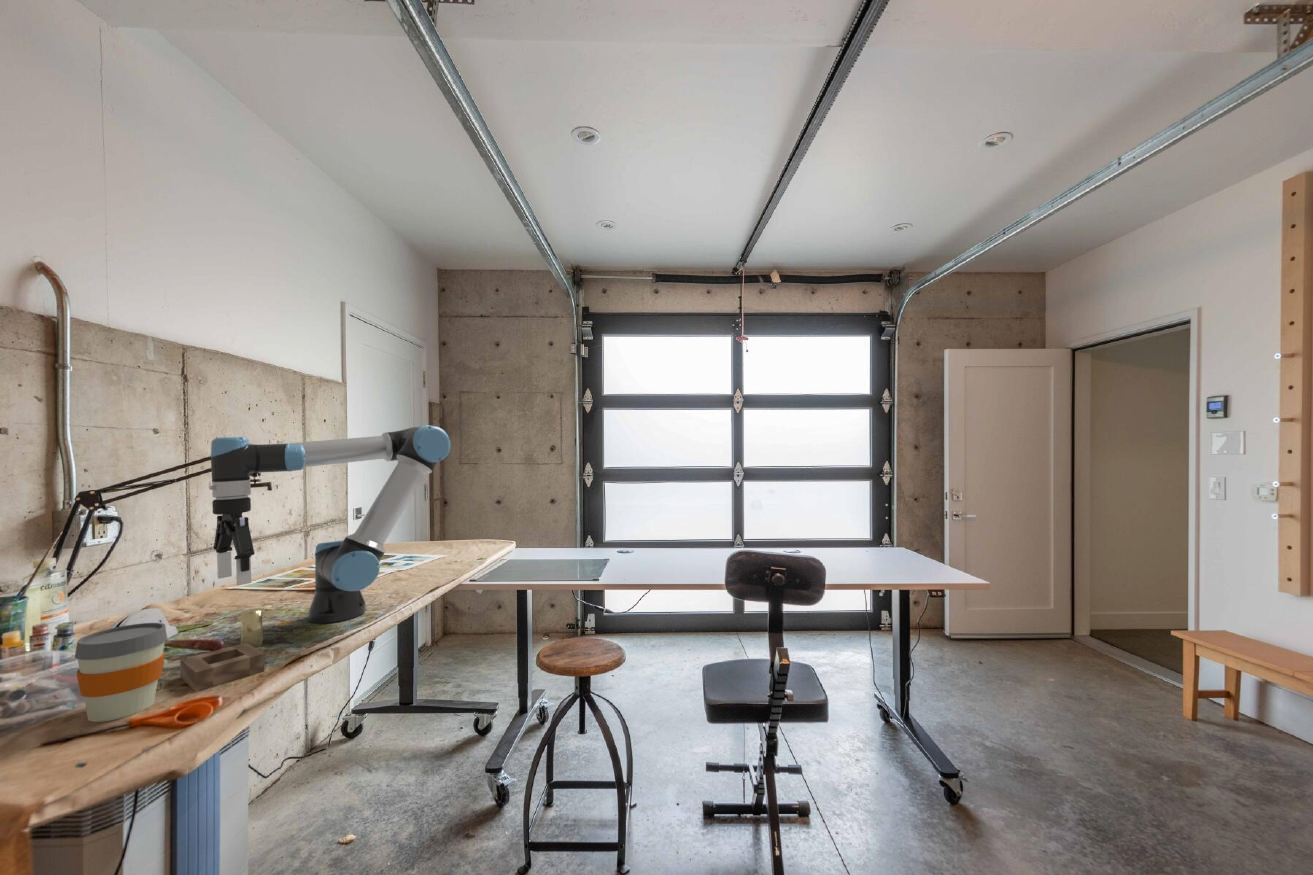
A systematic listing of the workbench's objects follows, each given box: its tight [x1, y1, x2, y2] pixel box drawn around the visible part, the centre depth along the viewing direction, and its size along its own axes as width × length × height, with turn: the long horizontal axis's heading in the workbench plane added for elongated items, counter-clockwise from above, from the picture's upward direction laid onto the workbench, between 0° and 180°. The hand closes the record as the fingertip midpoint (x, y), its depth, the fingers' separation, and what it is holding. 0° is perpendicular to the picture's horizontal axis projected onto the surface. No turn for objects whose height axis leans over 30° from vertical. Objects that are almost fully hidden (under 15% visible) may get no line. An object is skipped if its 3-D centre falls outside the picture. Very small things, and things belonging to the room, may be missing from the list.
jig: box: [179, 643, 266, 692], centre depth 115 cm, size 12×12×4 cm
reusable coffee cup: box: [74, 623, 168, 723], centre depth 100 cm, size 13×12×15 cm
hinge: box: [109, 607, 179, 639], centre depth 135 cm, size 17×5×10 cm, turn 18°
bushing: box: [240, 607, 264, 648], centre depth 133 cm, size 4×4×9 cm
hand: (234, 580), depth 129 cm, fingers open, 13 cm apart
